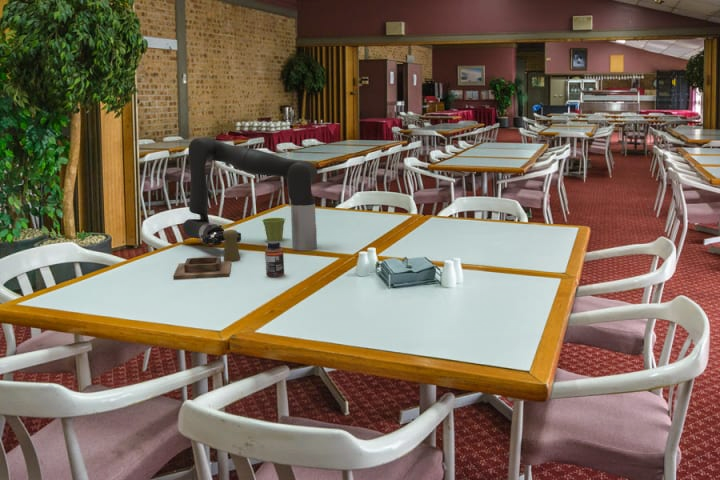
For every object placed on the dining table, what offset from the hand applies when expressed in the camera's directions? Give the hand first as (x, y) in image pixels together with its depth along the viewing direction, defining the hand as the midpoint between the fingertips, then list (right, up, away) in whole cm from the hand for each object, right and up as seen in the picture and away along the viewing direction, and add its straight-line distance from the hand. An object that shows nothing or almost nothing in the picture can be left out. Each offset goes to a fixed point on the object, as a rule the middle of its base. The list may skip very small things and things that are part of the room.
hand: (228, 240), depth 272 cm
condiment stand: (-5, -10, -17) cm, 21 cm away
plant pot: (+13, 0, +32) cm, 35 cm away
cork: (+1, -7, -1) cm, 7 cm away
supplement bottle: (+20, -12, -24) cm, 33 cm away
